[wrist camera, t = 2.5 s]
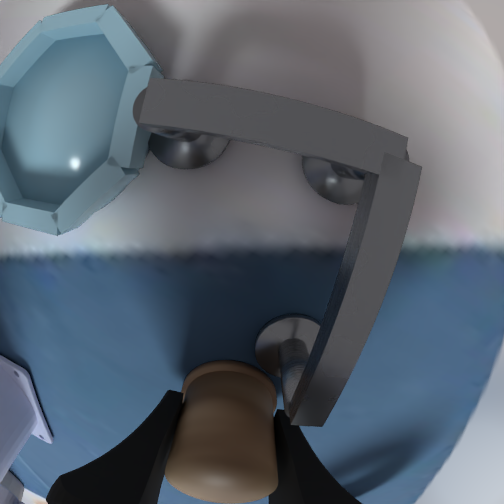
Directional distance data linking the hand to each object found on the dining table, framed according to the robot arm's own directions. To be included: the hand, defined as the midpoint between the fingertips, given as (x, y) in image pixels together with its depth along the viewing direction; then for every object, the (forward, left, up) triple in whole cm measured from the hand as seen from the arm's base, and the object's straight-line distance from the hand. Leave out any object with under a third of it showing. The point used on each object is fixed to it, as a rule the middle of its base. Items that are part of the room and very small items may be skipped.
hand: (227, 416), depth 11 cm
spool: (0, 0, -1) cm, 1 cm away
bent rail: (-1, +7, -1) cm, 7 cm away
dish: (-9, +11, -1) cm, 14 cm away
